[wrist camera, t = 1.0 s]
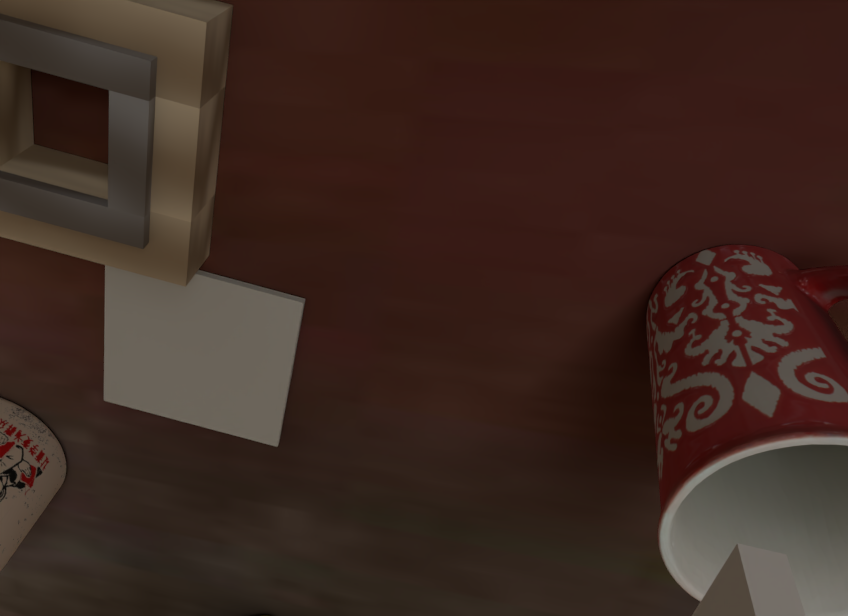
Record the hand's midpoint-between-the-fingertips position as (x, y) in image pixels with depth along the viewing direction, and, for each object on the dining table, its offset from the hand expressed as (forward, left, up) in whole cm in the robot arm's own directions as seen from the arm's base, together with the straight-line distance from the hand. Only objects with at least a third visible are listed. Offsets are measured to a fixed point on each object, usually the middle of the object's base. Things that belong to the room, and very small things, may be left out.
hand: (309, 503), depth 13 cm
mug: (+6, +16, -24) cm, 29 cm away
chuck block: (+6, -17, -23) cm, 29 cm away
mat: (+18, -9, -24) cm, 31 cm away
